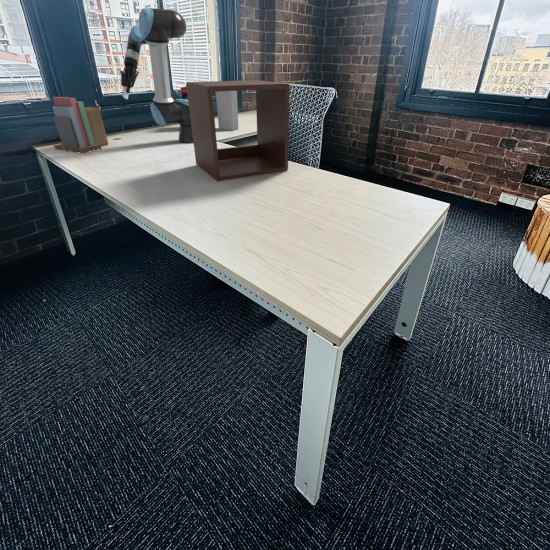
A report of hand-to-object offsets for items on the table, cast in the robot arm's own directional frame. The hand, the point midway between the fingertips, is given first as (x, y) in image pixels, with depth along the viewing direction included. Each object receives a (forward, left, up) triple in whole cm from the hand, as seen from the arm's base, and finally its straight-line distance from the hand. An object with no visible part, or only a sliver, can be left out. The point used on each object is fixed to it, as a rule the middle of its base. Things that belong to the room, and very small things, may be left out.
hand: (125, 98), depth 204 cm
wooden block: (+3, +26, -23) cm, 35 cm away
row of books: (+4, +38, -21) cm, 43 cm away
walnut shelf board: (+4, +38, -23) cm, 45 cm away
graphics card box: (-15, -44, -23) cm, 52 cm away
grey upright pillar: (-40, -53, -23) cm, 70 cm away
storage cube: (-100, +31, -23) cm, 107 cm away
